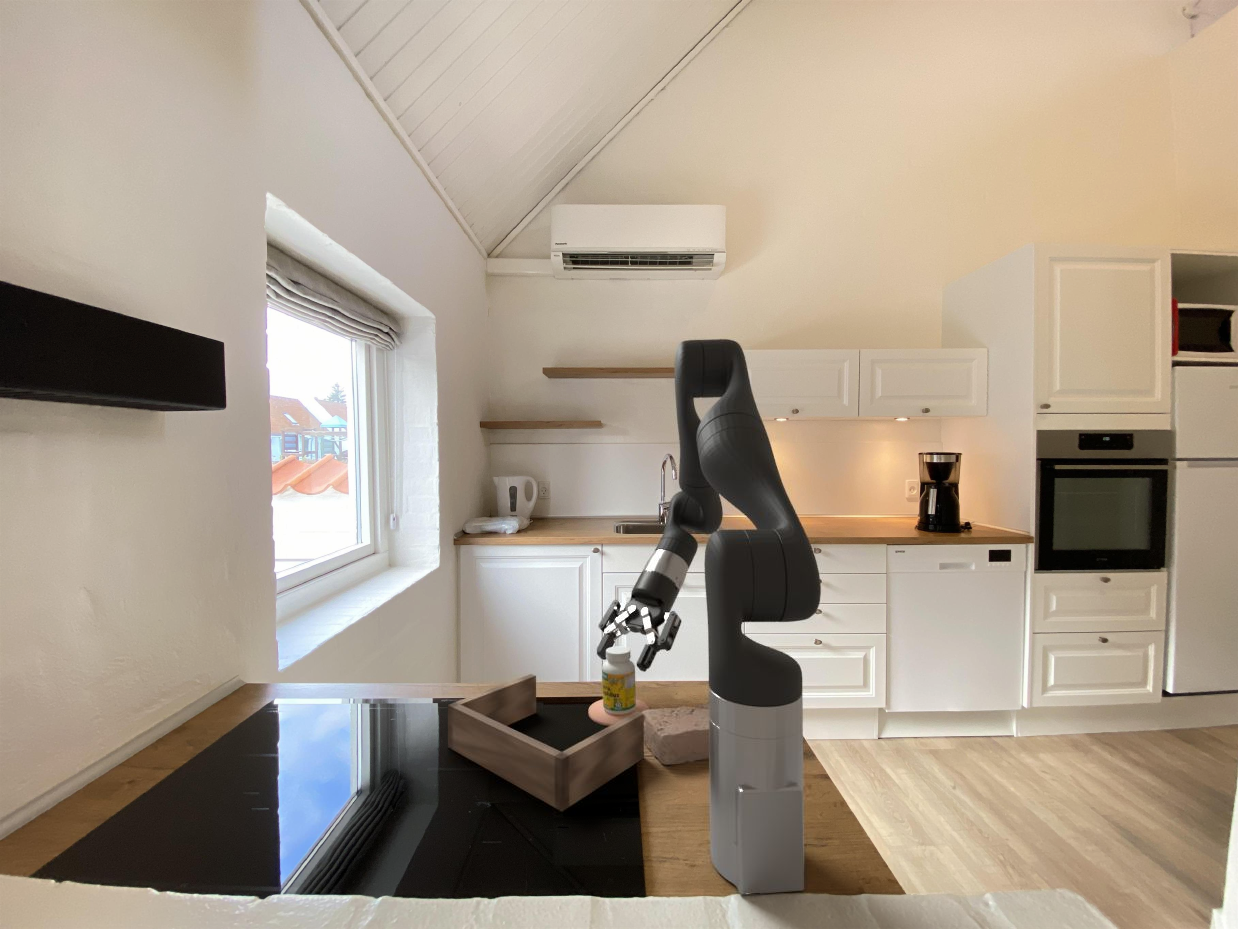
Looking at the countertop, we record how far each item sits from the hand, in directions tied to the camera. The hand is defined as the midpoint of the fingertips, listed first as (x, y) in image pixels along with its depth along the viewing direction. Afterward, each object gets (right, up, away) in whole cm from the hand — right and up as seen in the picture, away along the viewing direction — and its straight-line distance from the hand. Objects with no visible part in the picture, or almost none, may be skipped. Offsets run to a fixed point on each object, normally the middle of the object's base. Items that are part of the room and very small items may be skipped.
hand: (620, 662), depth 90 cm
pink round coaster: (0, -8, 0) cm, 8 cm away
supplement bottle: (0, -8, 0) cm, 8 cm away
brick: (+12, -8, -10) cm, 18 cm away
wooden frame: (-10, -8, -12) cm, 18 cm away
